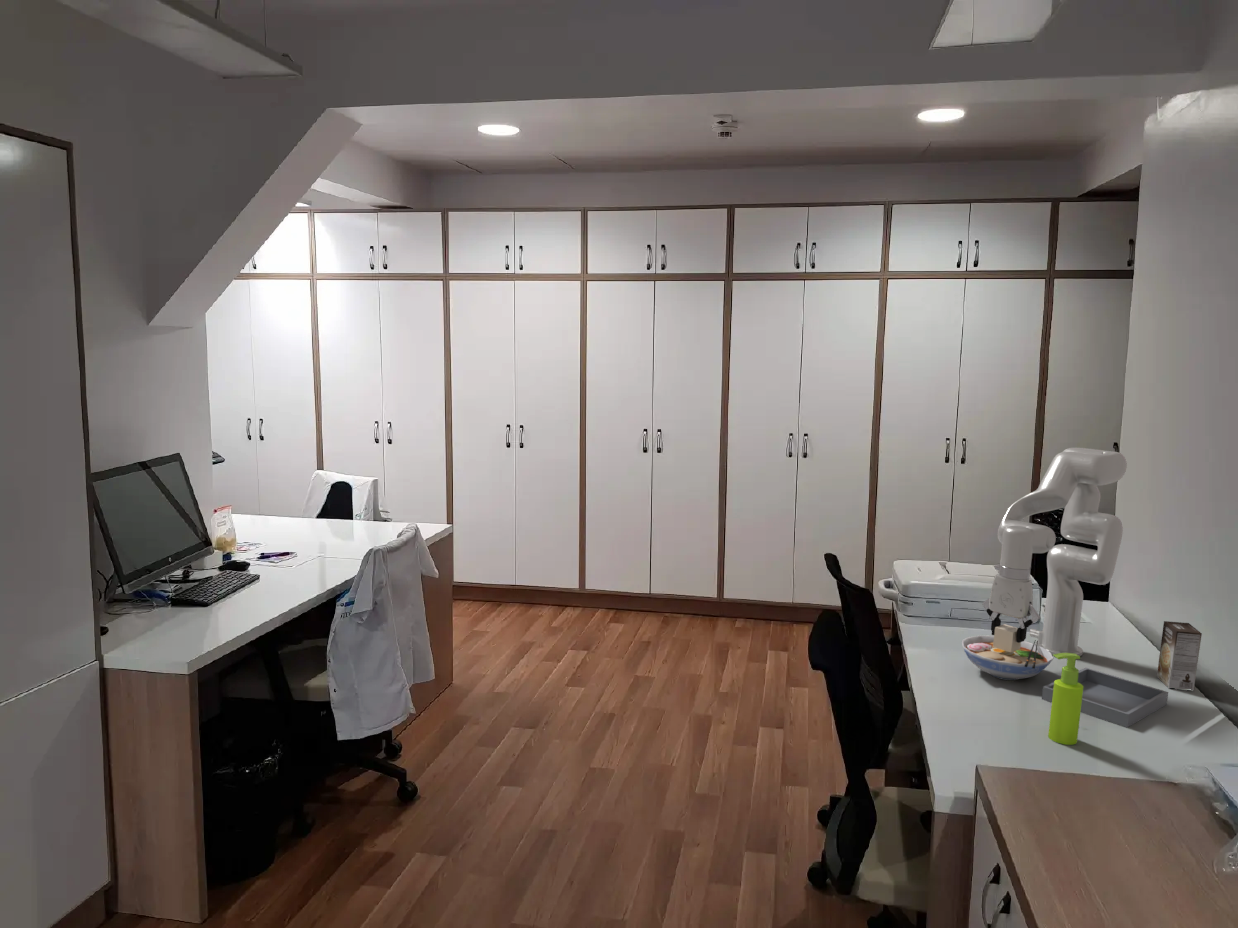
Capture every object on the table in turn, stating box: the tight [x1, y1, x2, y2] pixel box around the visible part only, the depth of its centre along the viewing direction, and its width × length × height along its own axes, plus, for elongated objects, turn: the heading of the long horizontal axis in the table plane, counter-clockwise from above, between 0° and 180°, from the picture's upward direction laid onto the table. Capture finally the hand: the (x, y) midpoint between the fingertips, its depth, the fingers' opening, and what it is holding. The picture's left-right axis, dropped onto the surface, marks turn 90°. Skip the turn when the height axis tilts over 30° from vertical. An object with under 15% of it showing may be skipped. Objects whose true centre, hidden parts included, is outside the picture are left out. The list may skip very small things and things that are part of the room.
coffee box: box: [1156, 620, 1203, 690], centre depth 239 cm, size 9×6×16 cm
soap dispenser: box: [1047, 653, 1083, 746], centre depth 201 cm, size 6×7×20 cm
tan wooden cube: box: [993, 623, 1021, 652], centre depth 240 cm, size 5×5×6 cm
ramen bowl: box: [961, 634, 1054, 681], centre depth 241 cm, size 25×23×8 cm
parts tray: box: [1041, 667, 1169, 729], centre depth 224 cm, size 20×24×4 cm
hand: (1007, 637), depth 240 cm, fingers open, 6 cm apart
